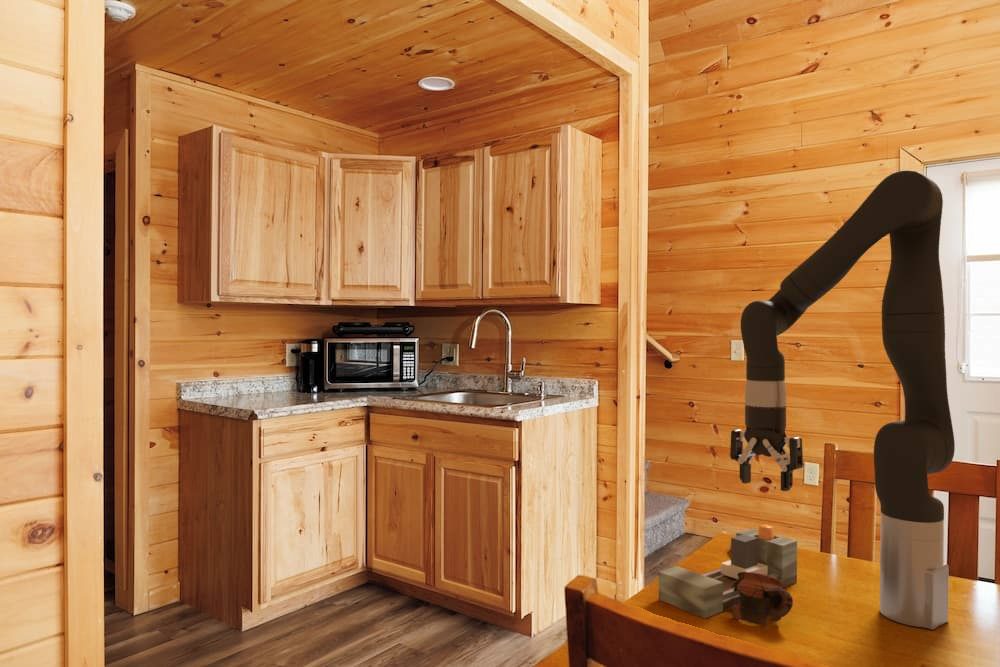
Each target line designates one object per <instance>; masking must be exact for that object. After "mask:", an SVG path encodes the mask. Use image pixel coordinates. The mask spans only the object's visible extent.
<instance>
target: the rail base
mask: <svg viewBox="0 0 1000 667" xmlns="http://www.w3.org/2000/svg"><path fill="white" fill-rule="evenodd" d="M758 532H759V529H755V528H748V529H745V530H741V531H738V532H735V537H736V536H740V535H743V534H744V535H748V536H751V537H755V538H758ZM757 563H761V564H764V565H767V566H768V576H770V577H774V578H776V579H778V580H780V581H781V582H782V583H783V586H782V589H783V588H786V587H788V586H790V585H794V584H796V583H797V582H798V540H795V539H792V538H789V537H783V536H781V535H777V534H774V539H773V540H770V541H768V540H765V539H761V538H758V551H757ZM736 580H737V579H735V578H732V577H729V576H726V575H724V574H721V568H718V569H715V570H713V571H712V570H711V571H709V572H706V573H704V574H701V573H698V572H696V571H693V570H690V569H687V568H683V567H681V566H678V565H675V566H672V567H669V568H666V569H665V568H664V569H662V570H659V571H658V600H659V601H662V602H664V603H667V604H669V605H671V606H675V607H677V608H679V609H681V610H684V611H686V612H688V613H691V614H693V615H696V616H698V617H701V618H703V619H706V618H709V617H712V616H714V615H717V614H720V613H722V612H725V611H728V610H730V609H732V605H739V604H740V592H739V591H738V590H737V591H734V588H735V587H734V588H732V587H731V585H732V584H733V583H734V582H735V581H736Z"/></svg>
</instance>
